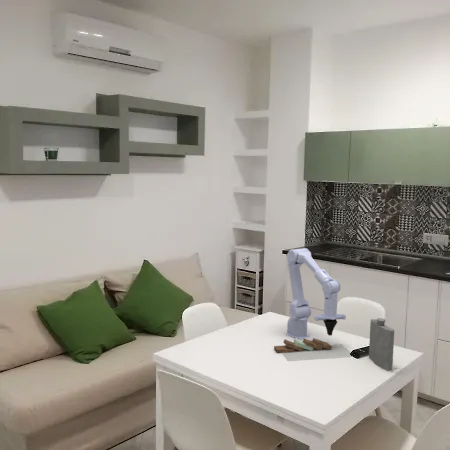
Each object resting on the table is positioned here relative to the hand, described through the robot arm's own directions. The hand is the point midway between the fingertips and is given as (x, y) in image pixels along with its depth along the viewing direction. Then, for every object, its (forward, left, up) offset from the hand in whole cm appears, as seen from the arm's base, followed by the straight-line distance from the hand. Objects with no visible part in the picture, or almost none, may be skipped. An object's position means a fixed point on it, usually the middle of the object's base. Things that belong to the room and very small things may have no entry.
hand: (329, 334), depth 238 cm
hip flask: (+25, 0, -7) cm, 26 cm away
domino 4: (0, 0, -6) cm, 6 cm away
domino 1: (-11, -15, -6) cm, 19 cm away
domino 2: (-8, -11, -6) cm, 15 cm away
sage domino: (-5, -7, -6) cm, 10 cm away
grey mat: (-1, -9, -7) cm, 11 cm away
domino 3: (-3, -4, -6) cm, 7 cm away
